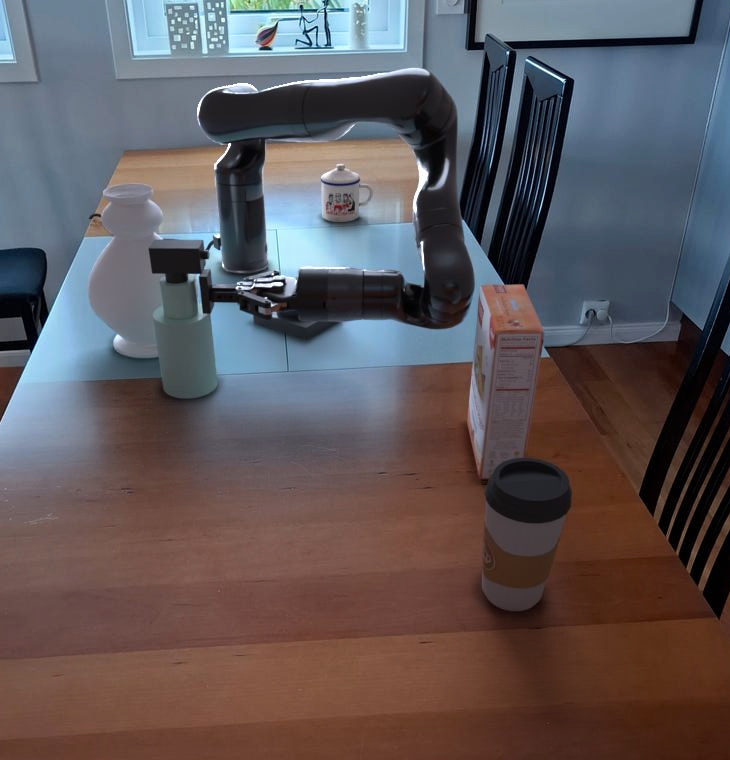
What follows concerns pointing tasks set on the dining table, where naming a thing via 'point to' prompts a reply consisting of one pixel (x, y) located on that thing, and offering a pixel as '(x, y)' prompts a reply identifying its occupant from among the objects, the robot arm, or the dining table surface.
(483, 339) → the cracker box
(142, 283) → the decorative vase
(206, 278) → the trigger
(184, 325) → the spray bottle
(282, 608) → the dining table surface
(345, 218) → the teacup with lid
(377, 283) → the robot arm
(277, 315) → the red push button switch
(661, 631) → the dining table surface
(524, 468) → the coffee cup
